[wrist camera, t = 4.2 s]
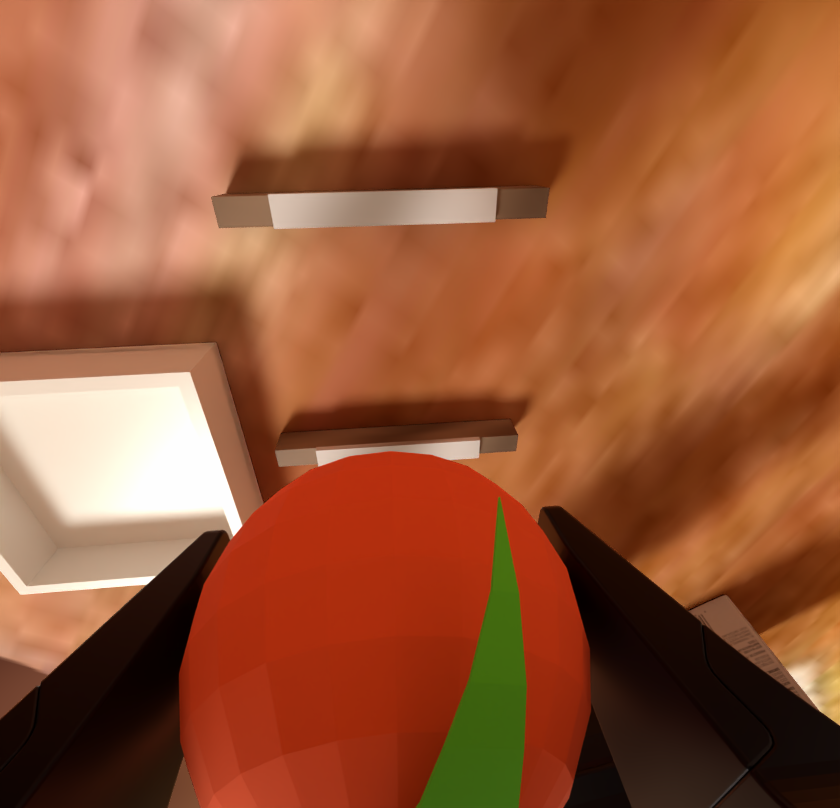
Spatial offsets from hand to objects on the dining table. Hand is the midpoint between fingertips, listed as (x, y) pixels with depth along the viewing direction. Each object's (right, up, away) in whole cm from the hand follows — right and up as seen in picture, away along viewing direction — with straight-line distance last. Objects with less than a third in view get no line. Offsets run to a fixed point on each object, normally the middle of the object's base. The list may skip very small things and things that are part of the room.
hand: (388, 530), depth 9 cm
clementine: (0, +1, +1) cm, 2 cm away
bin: (-14, 0, +12) cm, 19 cm away
